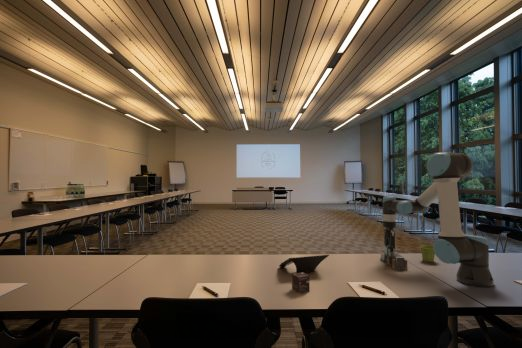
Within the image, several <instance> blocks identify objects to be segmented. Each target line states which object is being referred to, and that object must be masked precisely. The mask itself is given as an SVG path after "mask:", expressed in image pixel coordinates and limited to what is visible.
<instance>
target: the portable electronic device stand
mask: <svg viewBox="0 0 522 348" xmlns="http://www.w3.org/2000/svg"><path fill="white" fill-rule="evenodd" d="M329 256H330V255H329V254H323V255H311V256H310V255H308V256H299V257H289V258H287V259H285V260H284V261H283V262H280V264H279V265H278V266H279V268H280V269H283V268H285V267H287V266H289V265H291V264H294V266H295V268H296V272H295V273H305V274H307V273H309V274H312V273H311V272H313V273H315V271H316V269H317V267H318V266H319V265H320V264H321V263H322V262H323V261H324V260H325V259H327V258H328V257H329Z"/></svg>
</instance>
